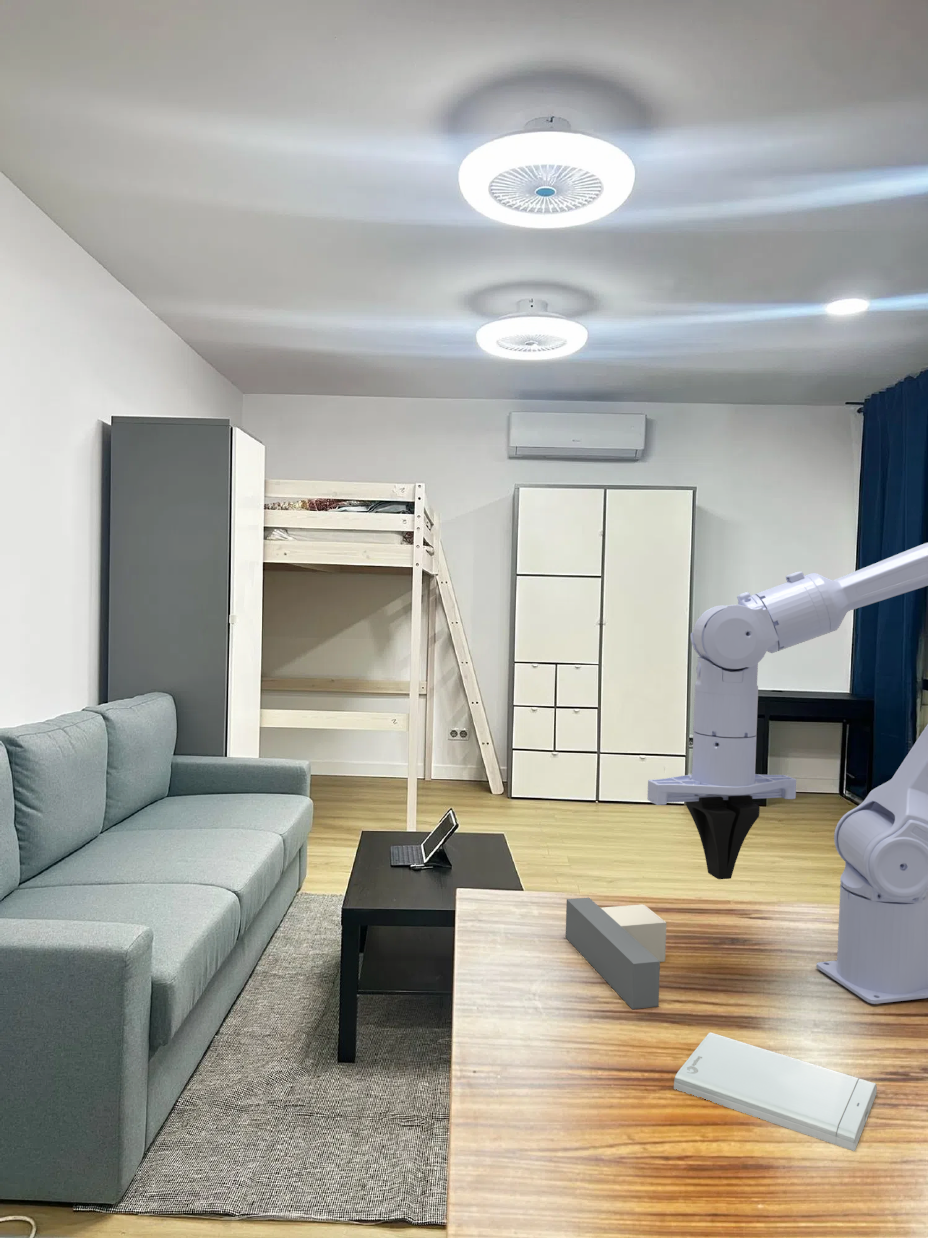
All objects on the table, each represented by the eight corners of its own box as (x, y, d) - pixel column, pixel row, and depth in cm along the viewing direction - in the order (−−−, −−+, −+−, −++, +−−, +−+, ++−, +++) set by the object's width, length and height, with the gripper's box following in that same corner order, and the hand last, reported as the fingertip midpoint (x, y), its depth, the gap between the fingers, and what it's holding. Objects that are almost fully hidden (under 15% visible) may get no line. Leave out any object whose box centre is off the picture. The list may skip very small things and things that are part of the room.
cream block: (642, 942, 93) (643, 904, 93) (665, 962, 89) (666, 922, 88) (597, 946, 92) (598, 907, 92) (617, 967, 87) (619, 926, 87)
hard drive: (673, 1075, 66) (855, 1135, 59) (710, 1029, 73) (877, 1079, 66) (673, 1097, 66) (854, 1159, 59) (709, 1049, 73) (876, 1101, 66)
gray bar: (588, 935, 95) (589, 897, 94) (658, 1006, 79) (660, 961, 79) (565, 937, 94) (566, 899, 94) (632, 1009, 78) (633, 964, 78)
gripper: (768, 724, 91) (763, 858, 91) (635, 727, 87) (630, 866, 88) (812, 737, 84) (806, 881, 85) (669, 740, 80) (664, 891, 81)
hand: (719, 875), depth 86 cm, fingers closed
